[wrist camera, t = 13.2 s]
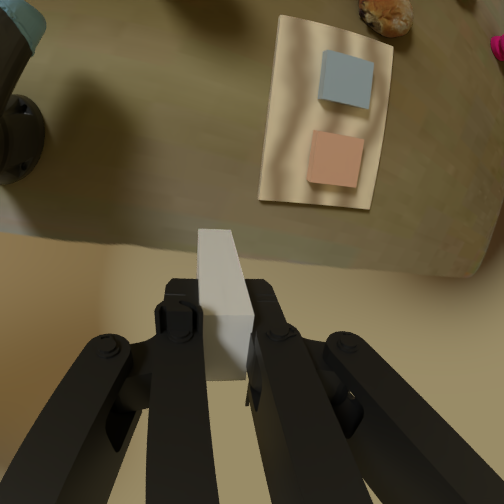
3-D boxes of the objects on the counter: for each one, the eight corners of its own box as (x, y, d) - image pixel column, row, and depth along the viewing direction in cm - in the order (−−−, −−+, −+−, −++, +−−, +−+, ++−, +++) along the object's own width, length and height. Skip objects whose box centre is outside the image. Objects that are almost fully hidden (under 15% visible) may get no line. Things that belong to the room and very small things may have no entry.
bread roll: (388, 43, 44) (425, 42, 38) (356, 32, 39) (398, 28, 33) (382, -1, 40) (418, -6, 34) (349, -17, 35) (388, -25, 29)
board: (257, 197, 50) (258, 199, 49) (278, 16, 37) (280, 14, 36) (366, 207, 53) (369, 209, 52) (389, 47, 41) (393, 46, 40)
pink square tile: (310, 182, 46) (356, 187, 48) (317, 130, 43) (364, 139, 45) (305, 179, 48) (350, 184, 50) (312, 129, 45) (357, 137, 47)
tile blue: (322, 98, 41) (368, 109, 42) (327, 49, 38) (374, 62, 39) (316, 98, 43) (362, 108, 44) (322, 51, 40) (367, 64, 41)
